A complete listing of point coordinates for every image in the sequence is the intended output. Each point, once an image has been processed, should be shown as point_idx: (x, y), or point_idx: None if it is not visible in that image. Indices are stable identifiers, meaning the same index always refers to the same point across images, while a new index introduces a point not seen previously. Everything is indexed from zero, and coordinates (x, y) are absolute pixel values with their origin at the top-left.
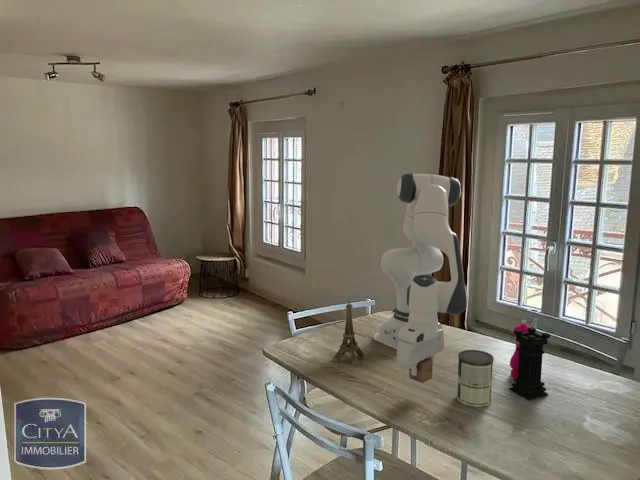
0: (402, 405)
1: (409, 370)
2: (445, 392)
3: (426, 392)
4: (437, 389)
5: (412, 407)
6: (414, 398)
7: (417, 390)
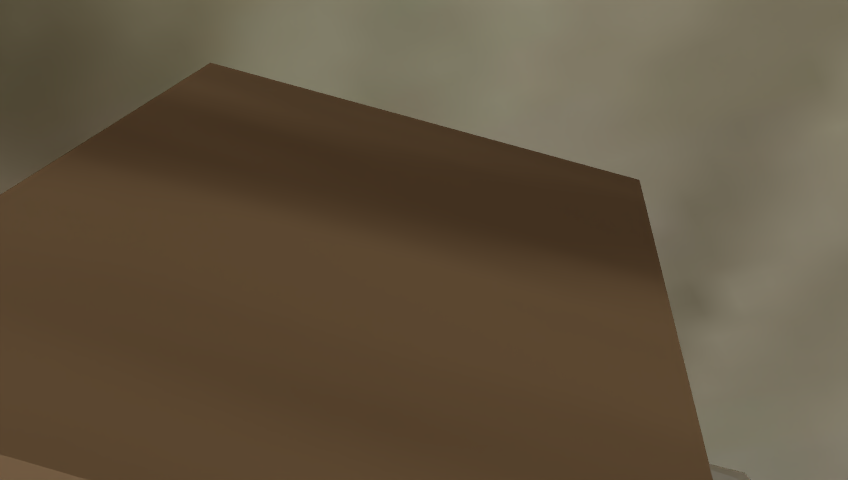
0: (7, 23)
1: (103, 132)
2: (749, 420)
3: None
4: (812, 305)
5: None
6: None
7: (631, 36)
